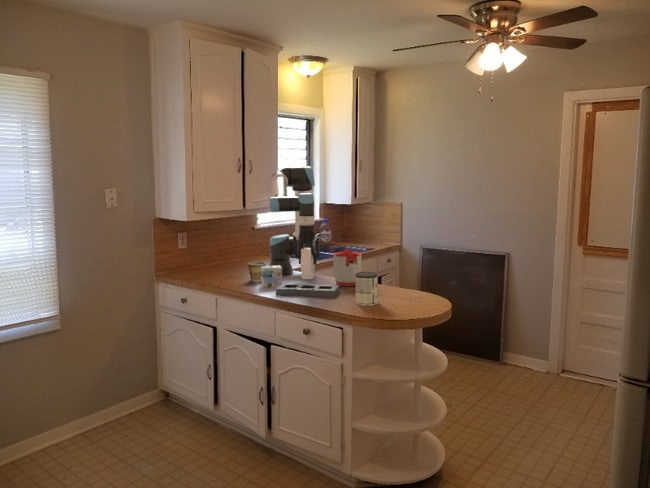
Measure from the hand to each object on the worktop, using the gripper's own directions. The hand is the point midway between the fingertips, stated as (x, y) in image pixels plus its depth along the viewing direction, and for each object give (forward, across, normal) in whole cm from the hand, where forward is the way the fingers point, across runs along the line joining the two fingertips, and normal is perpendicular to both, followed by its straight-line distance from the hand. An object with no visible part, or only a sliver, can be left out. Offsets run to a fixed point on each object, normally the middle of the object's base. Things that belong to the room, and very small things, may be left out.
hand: (307, 270), depth 276 cm
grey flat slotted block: (+12, 0, 0) cm, 12 cm away
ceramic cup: (+12, -37, +28) cm, 48 cm away
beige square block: (+4, 0, 0) cm, 4 cm away
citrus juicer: (+12, +16, +24) cm, 31 cm away
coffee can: (+12, +32, -14) cm, 37 cm away
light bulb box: (+12, -24, +14) cm, 31 cm away
